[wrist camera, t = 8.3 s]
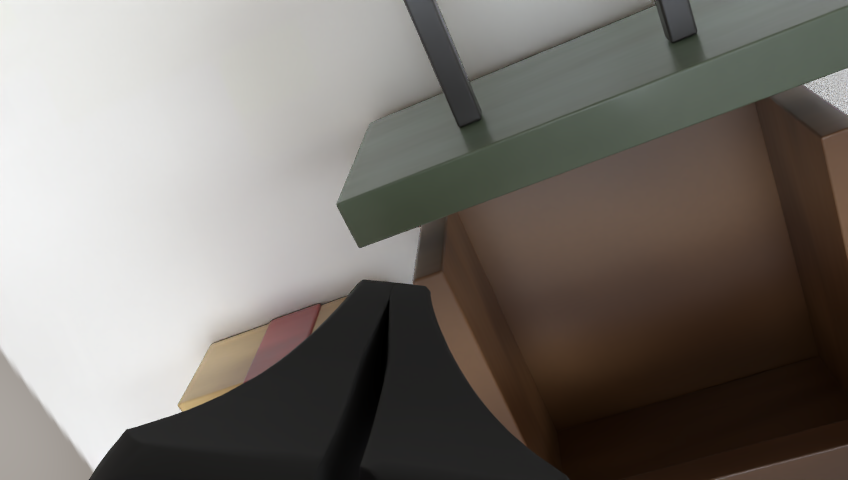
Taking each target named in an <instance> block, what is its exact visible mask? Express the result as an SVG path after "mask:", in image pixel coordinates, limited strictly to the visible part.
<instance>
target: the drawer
mask: <svg viewBox="0 0 848 480" xmlns="http://www.w3.org/2000/svg"><path fill="white" fill-rule="evenodd" d="M404 3H405V5H406V7H407V10H408V12H409V14H410V16H411V19H412V21H413V23H414V26H415V28H416V30H417V33H418V35H419V37H420V40H421V42H422V44H423V47H424V49H425V51H426V54H427V56H428V58H429V60H430V63H431V65H432V67H433V70H434V72H435V74H436V77H437V79H438V81H439V84H440V86H441V88H442V91H443V93H442V94H439V95H437V96H434V97H432V98H430V99H427V100H425V101H422V102H420V103H417V104H415V105H413V106H410V107H408V108H405V109H403V110H400V111H398V112H396V113H393V114H391V115H388V116H386V117H383V118H381V119H379V120H376V121H374V122H371V123H370V124H369V126H368V129H367V131H366V133H365V136H364V138H363V141H362V143H361V146H360V148H359V150H358V153H357V155H356V158H355V160H354V163H353V165H352V167H351V170H350V172H349V175H348V177H347V180H346V182H345V184H344V187H343V189H342V192H341V194H340V196H339V199H338V201H337V204H336V205H337V207H338V209H339V211H340V213H341V215H342V217H343V219H344V221H345V223H346V225H347V226H348V228H349V230H350V232H351V234H352V236H353V238H354V240H355V242H356V243H357V245H358V247H359V248H362V247H364V246H367V245H370V244H373V243H375V242H378V241H381V240H383V239H386V238H389V237H392V236H394V235H397V234H400V233H402V232H405V231H408V230H410V229H413V228H416V227H419V226H421V230H420V236H419V243H418V249H417V256H416V262H415V269H414V275H413V284H414V285H421V286H426V287H427V288H428V289H429V290H430V292H431V301H432V305H433V309H434V312H435V315H436V318H437V321H438V324H439V327H440V329H441V332H442V334H443V336H444V338H445V340H446V343H447V345H448V347H449V349H450V351H451V353H452V355H453V357H454V359H455V361H456V362H457V364H458V366H459V368H460V369H461V371H462V373H463V374H464V376H465V378H466V379H467V381H468V382H469V384H470V385H471V387H472V388H473V390H474V391H475V392H476V394H477V395H478V396H479V398H480V399H481V401H482V402H483V403H484V404H485V405H486V407H487V408H488V409H489V410H490V412H491V413H492V414H493V415H494V416H495V417H496V418H497V419H498V420H499V421H500V422H501V423H502V424H503V425H504V427H505V428H506V429H507V430H508V431H509V432H510V433H511V434H512V435H514V436H515V437H516V438H517V439H518V440H519V441H521V442H522V443H523V444H524V445H525V446H526V447H528V448H529V449H530V450H531V451H532V452H534V453H535V454H536V455H538V456H539V457H541V458H542V459H544V460H545V461H546V462H548V463H549V464H551V465H552V466H554V467H555V468H557V469H558V470H559V471H561V472H562V473H564V474H565V475H567V477H568V478H569V480H620V479H623V478H627V477H631V476H635V475H638V474H642V473H646V472H650V471H654V470H657V469H661V468H665V467H669V466H672V465H676V464H680V463H684V462H687V461H691V460H695V459H699V458H703V457H706V456H710V455H714V454H718V453H721V452H725V451H729V450H733V449H736V448H740V447H744V446H748V445H751V444H755V443H759V442H763V441H767V440H770V439H774V438H778V437H782V436H785V435H789V434H793V433H797V432H800V431H804V430H808V429H812V428H816V427H819V426H823V425H827V424H831V423H834V422H838V421H842V420H846V419H848V115H847V114H845V113H844V112H842V111H841V110H839V109H838V108H836V107H835V106H833V105H832V104H830V103H829V102H827V101H826V100H824V99H823V98H821V97H820V96H819V95H817V94H816V93H814V92H813V91H811V90H810V89H808V88H807V87H805V86H804V85H803V84H805V83H808V82H811V81H813V80H816V79H819V78H822V77H824V76H827V75H830V74H832V73H835V72H838V71H840V70H843V69H846V68H848V0H655V4H656V5H655V6H653V7H651V8H648V9H646V10H643V11H641V12H638V13H636V14H634V15H631V16H629V17H626V18H624V19H621V20H619V21H617V22H614V23H612V24H609V25H607V26H604V27H602V28H600V29H597V30H595V31H592V32H590V33H587V34H585V35H583V36H580V37H578V38H575V39H573V40H570V41H568V42H566V43H563V44H561V45H558V46H556V47H553V48H551V49H549V50H546V51H544V52H541V53H539V54H536V55H534V56H532V57H529V58H527V59H524V60H522V61H519V62H517V63H515V64H512V65H510V66H507V67H505V68H502V69H500V70H498V71H495V72H493V73H490V74H488V75H485V76H483V77H481V78H478V79H476V80H473V81H471V82H470V81H469V79H468V77H467V74H466V72H465V69H464V67H463V64H462V62H461V60H460V57H459V55H458V52H457V50H456V48H455V45H454V43H453V40H452V38H451V35H450V33H449V31H448V28H447V26H446V23H445V21H444V19H443V16H442V14H441V11H440V9H439V7H438V4H437V2H436V0H404Z"/></svg>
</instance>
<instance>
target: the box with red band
mask: <svg viewBox="0 0 848 480" xmlns="http://www.w3.org/2000/svg"><path fill="white" fill-rule="evenodd" d="M346 297H347V296H346ZM346 297H343V298H340V299H337V300H335V301H332V302H329V303H326V304H323V305H321V304H316V305H313V306H310V307H308V308H305V309H302V310H299V311H296V312H294V313H291V314H288V315H285V316H282V317H279V318H277V319H274V320H272V321H270V324H267V325H264V326H261V327H258V328H256V329H253V330H250V331H247V332H244V333H242V334H239V335H236V336H233V337H230V338H227V339H225V340H222V341H219V342H216V343H213V344H211V345H210V347H209V349H208V351H207V353H206V354H205V356H204V358H203V360H202V362H201V364H200V365H199V367H198V369H197V371H196V373H195V374H194V376H193V378H192V380H191V382H190V383H189V385H188V387H187V389H186V391H185V393H184V394H183V396H182V398H181V400H180V402H179V403H178V407H179V408H180V409H181V411H182V412H183V411H186V410H189V409H191V408H193V407H196V406H198V405H201V404H203V403H205V402H208V401H210V400H212V399H214V398H216V397H219V396H221V395H223V394H225V393H227V392H229V391H230V390H232V389H234V388H236V387H238V386H239V385H241V384H243V383H245V382H247V381H248V380H250V379H252V378H254V377H256V376H258V375H259V374H261V373H262V372H264V371H265V370H267V369H268V368H270V367H271V366H273V365H274V364H275V363H277V362H278V361H279V360H281V359H282V358H283V357H285V356H286V355H287V354H288V353H290V352H291V351H292V350H293V349H294V348H296V347H297V346H298V345H299V344H300V343H301V342H303V341H304V340H305V339H306V338H307V337H308V336H309V335H311V334H312V333H313V332H314V331H315V330H316V329H317V328H318V327H319V326H320V325H321V324H322V323H323V322H324V321H325V320H326V319H327V318H328V317H329V316H330V315H331V314H332V313H333V312H334V311H335V310H336V309H337V308H338V306H339V305H340V304H341V303H342V302H343V301H344V300H345V299H346Z"/></svg>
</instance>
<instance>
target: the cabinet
mask: <svg viewBox="0 0 848 480" xmlns="http://www.w3.org/2000/svg"><path fill="white" fill-rule="evenodd" d="M620 480H848V419H846V420H842V421H838V422H834V423H831V424H827V425H823V426H819V427H816V428H812V429H808V430H804V431H800V432H797V433H793V434H789V435H785V436H782V437H778V438H774V439H770V440H767V441H763V442H759V443H755V444H751V445H748V446H744V447H740V448H736V449H733V450H729V451H725V452H721V453H718V454H714V455H710V456H706V457H703V458H699V459H695V460H691V461H687V462H684V463H680V464H676V465H672V466H669V467H665V468H661V469H657V470H654V471H650V472H646V473H642V474H638V475H635V476H631V477H627V478H623V479H620Z"/></svg>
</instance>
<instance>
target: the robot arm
mask: <svg viewBox="0 0 848 480" xmlns="http://www.w3.org/2000/svg"><path fill="white" fill-rule="evenodd" d="M89 480H569V478H568V477H567V475H565V474H564V473H562V472H561V471H559V470H558V469H557V468H555V467H554V466H552V465H551V464H549V463H548V462H546V461H545V460H544V459H542V458H541V457H539V456H538V455H536V454H535V453H534V452H532V451H531V450H530V449H529V448H528V447H526V446H525V445H524V444H523V443H522V442H521V441H519V440H518V439H517V438H516V437H515V436H514V435H512V434H511V433H510V432H509V431H508V430H507V429H506V428H505V427H504V425H503V424H502V423H501V422H500V421H499V420H498V419H497V418H496V417H495V416H494V415H493V414H492V413H491V412H490V410H489V409H488V408H487V407H486V405H485V404H484V403H483V402H482V401H481V399H480V398H479V396H478V395H477V394H476V392H475V391H474V390H473V388H472V387H471V385H470V384H469V382H468V381H467V379H466V378H465V376H464V374H463V373H462V371H461V369H460V368H459V366H458V364H457V362H456V361H455V359H454V357H453V355H452V353H451V351H450V349H449V347H448V345H447V343H446V340H445V338H444V336H443V334H442V332H441V329H440V327H439V324H438V321H437V318H436V315H435V312H434V309H433V305H432V301H431V292H430V290H429V289H428V288H427V287H426V286H421V285H411V284H401V283H391V282H381V281H371V280H362V281H361V282H359V283H358V284H357V285H356V286H355V288H354V289H353V290H352V291H351V293H350V294H349V295H348V296H347V297H346V299H345V300H344V301H343V302H342V303H341V304H340V305H339V306H338V308H337V309H336V310H335V311H334V312H333V313H332V314H331V315H330V316H329V317H328V318H327V319H326V320H325V321H324V322H323V323H322V324H321V325H320V326H319V327H318V328H317V329H316V330H315V331H314V332H313V333H312V334H311V335H309V336H308V337H307V338H306V339H305V340H304V341H303V342H301V343H300V344H299V345H298V346H297V347H296V348H294V349H293V350H292V351H291V352H290V353H288V354H287V355H286V356H285V357H283V358H282V359H281V360H279V361H278V362H277V363H275V364H274V365H273V366H271V367H270V368H268V369H267V370H265V371H264V372H262V373H261V374H259V375H258V376H256V377H254V378H252V379H250V380H248V381H247V382H245V383H243V384H241V385H239V386H238V387H236V388H234V389H232V390H230V391H229V392H227V393H225V394H223V395H221V396H219V397H216V398H214V399H212V400H210V401H208V402H205V403H203V404H201V405H198V406H196V407H193V408H191V409H189V410H186V411H183V412H181V413H178V414H175V415H173V416H170V417H166V418H163V419H160V420H157V421H154V422H151V423H147V424H144V425H141V426H138V427H134V428H131V429H127V430H126V431H125V432H124V433H123V434H122V436H121V437H120V438H119V440H118V441H117V442H116V443H115V444H114V445H113V447H112V448H111V449H110V450H109V451H108V453H107V454H106V455H105V457H104V458H103V459H102V461H101V462H100V463H99V465H98V466H97V468H96V469H95V471H94V473H93V474H92V476H91V477H90V479H89Z"/></svg>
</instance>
